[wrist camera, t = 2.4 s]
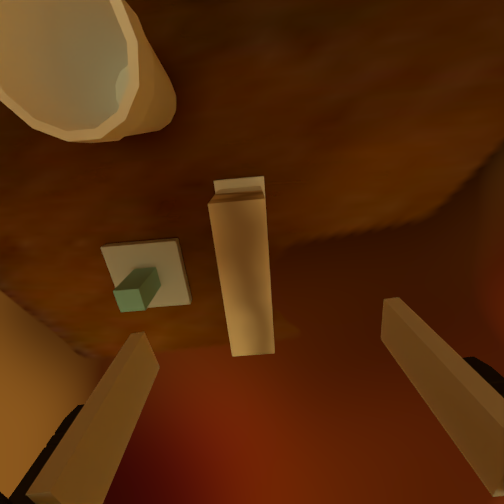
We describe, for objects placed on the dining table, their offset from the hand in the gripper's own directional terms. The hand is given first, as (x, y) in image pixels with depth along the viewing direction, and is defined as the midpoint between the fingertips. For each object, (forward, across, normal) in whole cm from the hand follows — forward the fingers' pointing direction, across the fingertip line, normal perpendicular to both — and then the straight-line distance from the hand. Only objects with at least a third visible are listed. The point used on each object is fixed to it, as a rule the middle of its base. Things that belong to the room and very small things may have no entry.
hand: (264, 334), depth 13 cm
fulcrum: (+20, -16, -4) cm, 26 cm away
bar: (+15, -2, -3) cm, 16 cm away
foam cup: (+20, -9, +16) cm, 27 cm away
